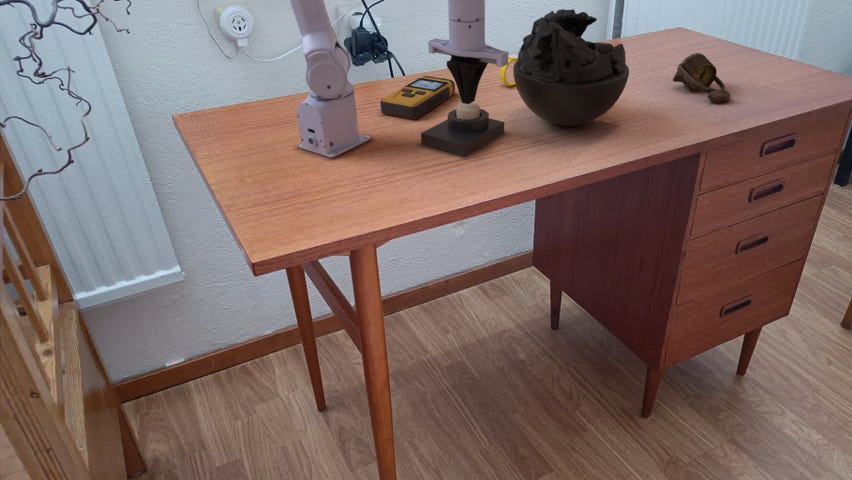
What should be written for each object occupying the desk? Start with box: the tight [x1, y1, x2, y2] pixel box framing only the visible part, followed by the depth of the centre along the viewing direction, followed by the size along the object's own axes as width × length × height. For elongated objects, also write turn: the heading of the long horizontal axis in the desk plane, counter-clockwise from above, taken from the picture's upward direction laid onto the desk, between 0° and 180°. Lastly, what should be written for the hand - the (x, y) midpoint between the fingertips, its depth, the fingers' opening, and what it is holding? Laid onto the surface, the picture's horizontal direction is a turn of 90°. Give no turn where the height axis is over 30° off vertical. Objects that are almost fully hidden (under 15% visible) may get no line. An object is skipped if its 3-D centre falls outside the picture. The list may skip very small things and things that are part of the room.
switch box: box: [420, 108, 505, 158], centre depth 112 cm, size 12×9×4 cm
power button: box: [455, 102, 481, 120], centre depth 112 cm, size 4×4×2 cm
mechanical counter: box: [672, 52, 732, 104], centre depth 130 cm, size 7×13×10 cm
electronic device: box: [379, 75, 456, 120], centre depth 126 cm, size 8×16×3 cm, turn 154°
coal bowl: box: [512, 8, 630, 127], centre depth 114 cm, size 20×20×19 cm
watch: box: [499, 54, 518, 87], centre depth 135 cm, size 6×3×6 cm, turn 128°
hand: (468, 101), depth 111 cm, fingers closed
